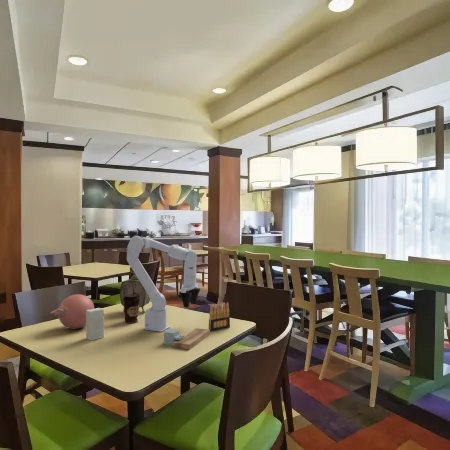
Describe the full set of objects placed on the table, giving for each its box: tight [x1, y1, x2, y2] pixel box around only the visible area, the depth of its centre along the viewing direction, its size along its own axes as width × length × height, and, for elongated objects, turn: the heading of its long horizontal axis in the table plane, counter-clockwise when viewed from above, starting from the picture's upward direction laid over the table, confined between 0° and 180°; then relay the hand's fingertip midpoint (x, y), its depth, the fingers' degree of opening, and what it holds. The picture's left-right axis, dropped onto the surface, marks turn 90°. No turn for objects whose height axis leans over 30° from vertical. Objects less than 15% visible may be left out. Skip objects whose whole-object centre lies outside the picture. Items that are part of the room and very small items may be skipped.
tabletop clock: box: [119, 267, 151, 315], centre depth 192 cm, size 14×9×25 cm, turn 80°
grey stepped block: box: [163, 328, 185, 347], centre depth 142 cm, size 7×4×5 cm, turn 70°
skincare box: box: [85, 307, 105, 341], centre depth 148 cm, size 6×4×12 cm
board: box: [172, 327, 211, 350], centre depth 146 cm, size 7×20×2 cm, turn 160°
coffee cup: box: [123, 294, 140, 324], centre depth 173 cm, size 9×8×13 cm
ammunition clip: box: [208, 301, 231, 332], centre depth 162 cm, size 11×2×12 cm, turn 124°
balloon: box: [49, 293, 95, 330], centre depth 160 cm, size 15×20×15 cm
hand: (189, 305), depth 165 cm, fingers open, 7 cm apart
